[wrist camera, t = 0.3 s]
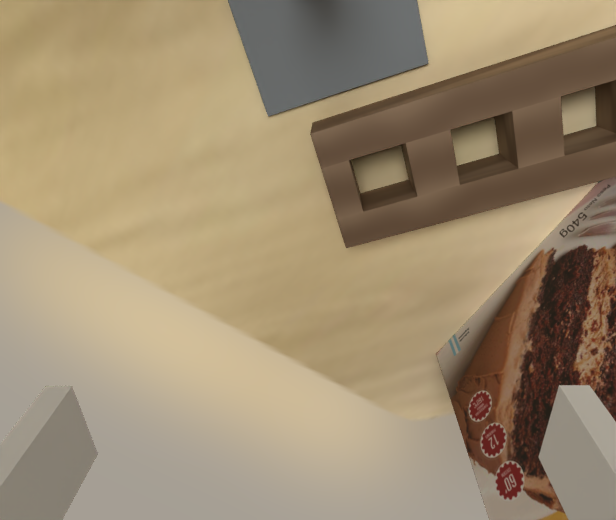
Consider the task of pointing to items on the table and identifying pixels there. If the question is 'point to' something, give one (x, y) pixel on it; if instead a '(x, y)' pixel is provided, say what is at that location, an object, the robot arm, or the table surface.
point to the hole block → (465, 110)
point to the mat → (326, 45)
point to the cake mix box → (536, 356)
